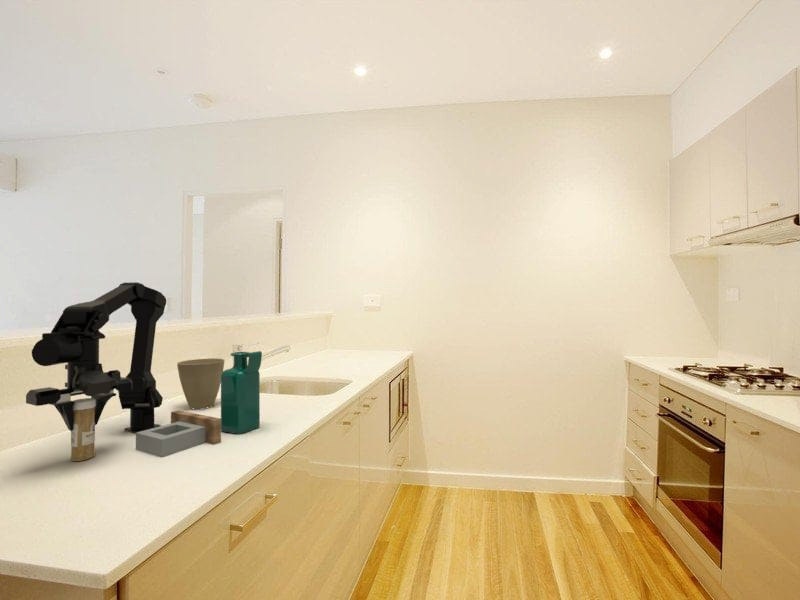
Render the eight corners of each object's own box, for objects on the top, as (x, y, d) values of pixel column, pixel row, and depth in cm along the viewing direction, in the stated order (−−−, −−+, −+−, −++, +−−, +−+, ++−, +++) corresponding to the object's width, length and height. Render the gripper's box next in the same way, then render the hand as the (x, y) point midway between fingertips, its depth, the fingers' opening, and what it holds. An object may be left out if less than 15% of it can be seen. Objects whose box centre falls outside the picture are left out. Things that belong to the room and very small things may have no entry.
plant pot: (194, 401, 146) (194, 358, 147) (232, 402, 145) (232, 358, 145) (166, 412, 132) (166, 364, 132) (209, 413, 130) (209, 364, 130)
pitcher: (217, 431, 110) (217, 352, 111) (240, 423, 118) (240, 349, 119) (244, 435, 107) (244, 353, 107) (266, 426, 114) (266, 350, 115)
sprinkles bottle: (94, 459, 91) (94, 400, 91) (68, 463, 88) (69, 402, 88) (96, 453, 95) (96, 396, 95) (71, 457, 92) (72, 399, 92)
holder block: (135, 449, 97) (135, 432, 97) (179, 436, 107) (179, 421, 107) (162, 456, 92) (162, 439, 92) (205, 442, 101) (205, 426, 101)
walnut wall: (170, 434, 108) (170, 412, 109) (178, 432, 110) (178, 410, 110) (213, 444, 100) (213, 420, 100) (220, 442, 102) (220, 418, 102)
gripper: (48, 367, 80) (48, 445, 79) (145, 357, 96) (145, 421, 96) (25, 364, 85) (24, 437, 85) (120, 354, 101) (120, 416, 101)
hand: (83, 427), depth 92 cm, fingers closed on sprinkles bottle, 4 cm apart
